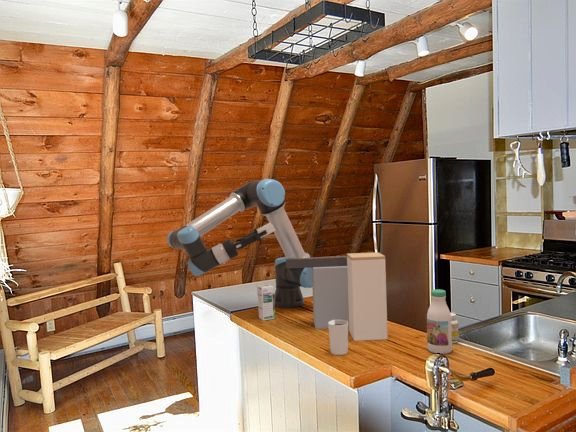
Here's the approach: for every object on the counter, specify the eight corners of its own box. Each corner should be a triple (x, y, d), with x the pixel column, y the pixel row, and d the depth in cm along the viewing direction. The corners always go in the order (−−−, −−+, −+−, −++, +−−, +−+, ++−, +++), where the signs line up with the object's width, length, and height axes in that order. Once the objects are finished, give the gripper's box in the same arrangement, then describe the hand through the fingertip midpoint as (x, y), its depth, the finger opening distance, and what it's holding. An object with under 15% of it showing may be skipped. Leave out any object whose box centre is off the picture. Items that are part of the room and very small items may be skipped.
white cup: (345, 347, 155) (344, 318, 155) (351, 354, 149) (350, 324, 148) (326, 349, 154) (325, 320, 154) (332, 356, 148) (331, 326, 147)
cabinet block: (349, 331, 173) (346, 253, 172) (380, 330, 173) (378, 252, 172) (354, 340, 162) (351, 257, 161) (387, 339, 162) (385, 256, 161)
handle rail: (286, 267, 183) (285, 258, 182) (350, 264, 183) (349, 255, 183) (286, 268, 179) (285, 259, 179) (351, 265, 180) (351, 257, 180)
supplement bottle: (458, 344, 154) (457, 316, 154) (441, 343, 156) (441, 315, 156) (458, 339, 159) (458, 312, 159) (442, 338, 161) (442, 311, 161)
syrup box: (263, 321, 192) (261, 287, 191) (258, 317, 197) (257, 284, 197) (275, 319, 194) (274, 285, 193) (270, 316, 200) (269, 283, 199)
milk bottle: (434, 344, 155) (433, 287, 154) (456, 349, 149) (455, 289, 148) (423, 351, 149) (421, 291, 148) (445, 356, 144) (443, 294, 143)
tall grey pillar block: (313, 322, 187) (311, 264, 186) (347, 321, 187) (345, 263, 186) (315, 329, 178) (313, 268, 177) (351, 327, 178) (349, 267, 177)
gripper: (231, 255, 193) (275, 232, 194) (229, 263, 168) (279, 237, 169) (222, 240, 192) (267, 216, 193) (219, 246, 167) (270, 219, 169)
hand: (273, 226), depth 181 cm, fingers open, 13 cm apart
